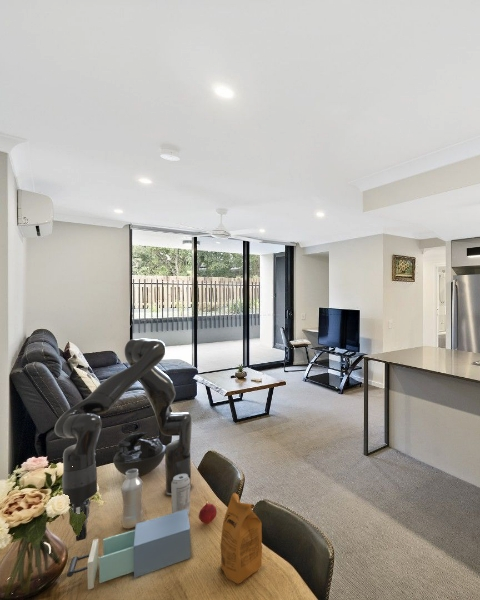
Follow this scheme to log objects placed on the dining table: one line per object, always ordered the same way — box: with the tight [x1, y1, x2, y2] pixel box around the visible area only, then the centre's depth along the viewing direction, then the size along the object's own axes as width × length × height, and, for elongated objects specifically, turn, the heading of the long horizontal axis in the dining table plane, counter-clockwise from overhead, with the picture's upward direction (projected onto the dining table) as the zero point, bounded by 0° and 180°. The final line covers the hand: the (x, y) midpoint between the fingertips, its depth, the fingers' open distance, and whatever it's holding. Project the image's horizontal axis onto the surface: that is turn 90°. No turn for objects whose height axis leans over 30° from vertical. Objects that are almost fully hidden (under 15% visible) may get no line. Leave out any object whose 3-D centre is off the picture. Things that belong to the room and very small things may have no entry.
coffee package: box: [219, 492, 263, 585], centre depth 111 cm, size 10×12×22 cm
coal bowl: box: [112, 431, 166, 477], centre depth 169 cm, size 20×20×19 cm
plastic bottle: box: [120, 469, 145, 529], centre depth 132 cm, size 6×7×20 cm
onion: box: [198, 501, 218, 525], centre depth 133 cm, size 6×6×8 cm
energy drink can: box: [171, 474, 191, 515], centre depth 138 cm, size 6×6×15 cm
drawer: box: [66, 529, 135, 591], centre depth 110 cm, size 18×11×8 cm, turn 124°
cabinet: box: [133, 509, 191, 578], centre depth 117 cm, size 15×13×10 cm
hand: (81, 538), depth 106 cm, fingers closed
